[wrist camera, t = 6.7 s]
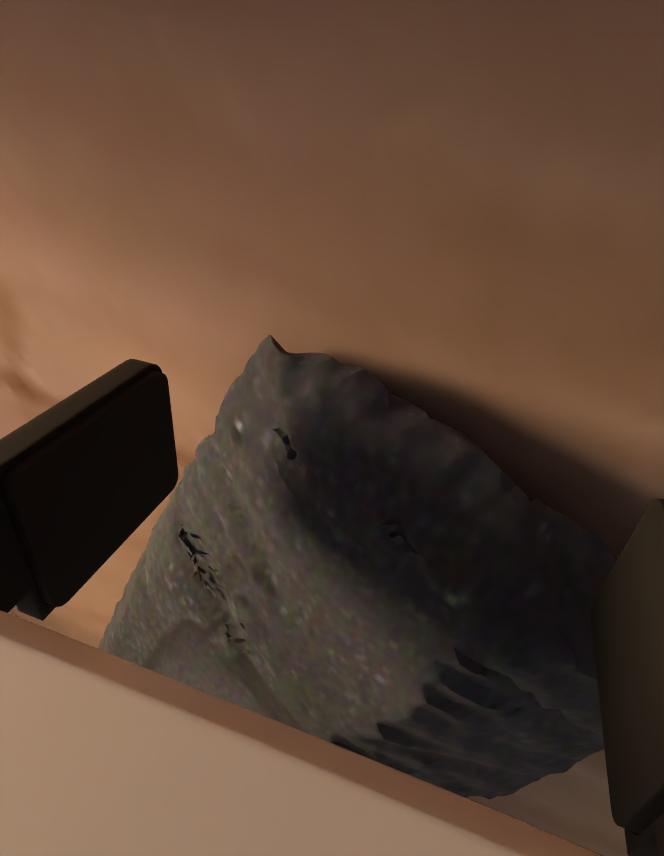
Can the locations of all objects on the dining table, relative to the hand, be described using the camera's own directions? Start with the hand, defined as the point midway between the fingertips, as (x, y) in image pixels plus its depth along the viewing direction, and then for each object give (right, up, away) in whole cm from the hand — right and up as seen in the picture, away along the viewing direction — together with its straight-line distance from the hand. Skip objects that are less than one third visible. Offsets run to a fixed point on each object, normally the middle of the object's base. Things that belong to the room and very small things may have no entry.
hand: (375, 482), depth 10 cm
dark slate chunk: (-1, -7, +8) cm, 11 cm away
